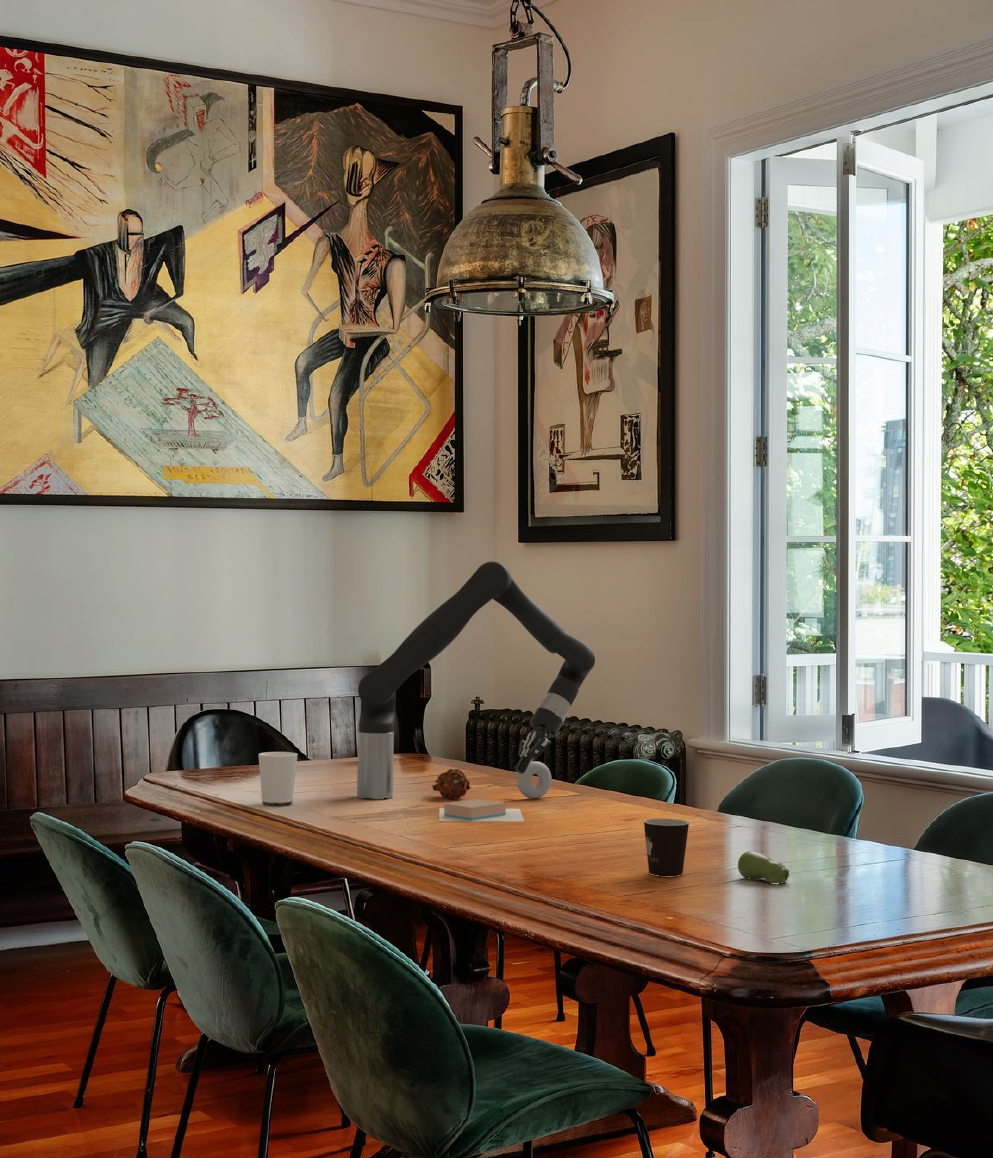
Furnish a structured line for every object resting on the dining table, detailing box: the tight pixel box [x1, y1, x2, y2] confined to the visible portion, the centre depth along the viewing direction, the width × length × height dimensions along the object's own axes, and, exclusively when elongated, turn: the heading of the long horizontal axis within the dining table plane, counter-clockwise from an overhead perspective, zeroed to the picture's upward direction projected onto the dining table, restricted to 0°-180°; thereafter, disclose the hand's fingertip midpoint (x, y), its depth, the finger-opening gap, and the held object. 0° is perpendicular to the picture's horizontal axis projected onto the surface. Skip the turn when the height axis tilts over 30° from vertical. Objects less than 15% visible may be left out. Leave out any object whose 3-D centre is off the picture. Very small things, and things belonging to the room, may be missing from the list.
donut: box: [516, 760, 552, 800], centre depth 361 cm, size 10×4×10 cm, turn 116°
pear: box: [737, 850, 790, 885], centre depth 257 cm, size 6×5×10 cm
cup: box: [258, 751, 298, 807], centre depth 345 cm, size 10×10×13 cm
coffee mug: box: [643, 817, 690, 876], centre depth 263 cm, size 12×9×10 cm
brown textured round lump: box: [432, 768, 472, 800], centre depth 360 cm, size 8×8×12 cm
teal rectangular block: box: [443, 798, 507, 820], centre depth 328 cm, size 3×9×12 cm
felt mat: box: [438, 807, 525, 823], centre depth 330 cm, size 20×20×1 cm
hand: (518, 771), depth 342 cm, fingers closed
